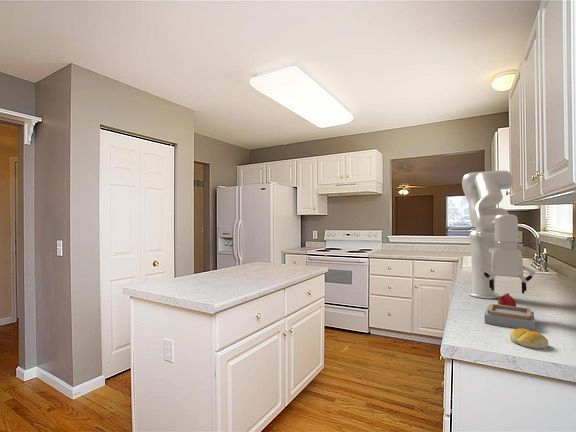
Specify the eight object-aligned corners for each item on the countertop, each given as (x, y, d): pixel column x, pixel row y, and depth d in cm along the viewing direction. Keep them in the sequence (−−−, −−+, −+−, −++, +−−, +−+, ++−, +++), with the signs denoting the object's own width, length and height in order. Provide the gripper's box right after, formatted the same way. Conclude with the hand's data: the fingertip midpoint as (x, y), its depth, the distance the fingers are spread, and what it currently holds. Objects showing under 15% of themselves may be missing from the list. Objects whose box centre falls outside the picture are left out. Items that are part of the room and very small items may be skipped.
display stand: (487, 313, 125) (487, 302, 125) (533, 320, 116) (533, 308, 116) (484, 323, 113) (484, 311, 113) (535, 330, 105) (534, 317, 105)
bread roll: (525, 337, 100) (525, 324, 100) (554, 348, 91) (554, 334, 91) (502, 339, 98) (502, 325, 99) (529, 350, 90) (529, 336, 90)
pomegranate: (502, 315, 122) (502, 294, 122) (495, 311, 128) (494, 290, 128) (519, 315, 121) (519, 294, 122) (511, 311, 127) (510, 291, 127)
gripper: (534, 247, 123) (535, 292, 122) (481, 245, 133) (482, 287, 132) (535, 247, 117) (536, 295, 116) (479, 246, 127) (480, 290, 126)
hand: (507, 291), depth 124 cm, fingers open, 9 cm apart
